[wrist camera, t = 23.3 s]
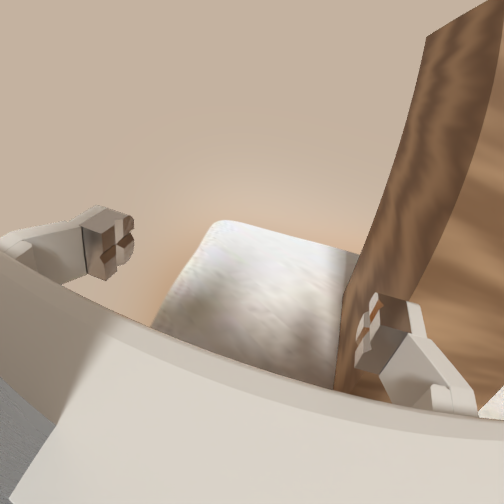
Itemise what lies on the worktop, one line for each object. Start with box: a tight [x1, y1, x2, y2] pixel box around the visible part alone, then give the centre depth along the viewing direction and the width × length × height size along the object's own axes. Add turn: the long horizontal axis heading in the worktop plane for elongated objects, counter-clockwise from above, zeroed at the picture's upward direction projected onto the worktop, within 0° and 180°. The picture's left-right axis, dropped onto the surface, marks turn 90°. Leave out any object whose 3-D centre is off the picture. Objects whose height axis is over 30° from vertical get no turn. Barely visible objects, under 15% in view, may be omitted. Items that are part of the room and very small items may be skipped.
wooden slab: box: [333, 0, 504, 411], centre depth 18 cm, size 15×10×27 cm, turn 164°
